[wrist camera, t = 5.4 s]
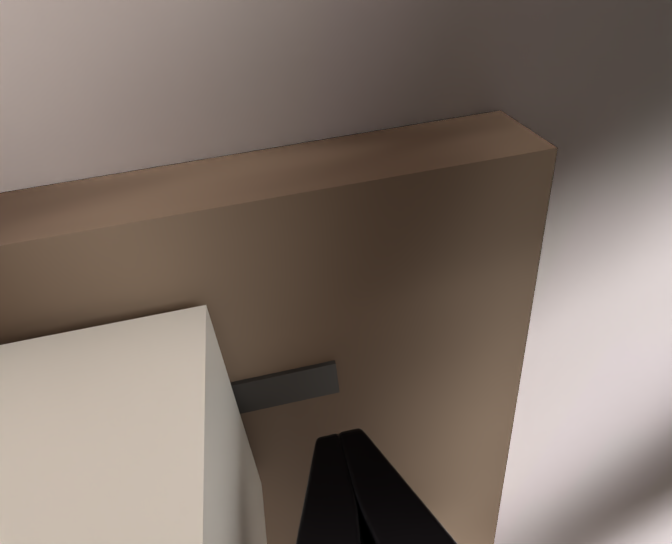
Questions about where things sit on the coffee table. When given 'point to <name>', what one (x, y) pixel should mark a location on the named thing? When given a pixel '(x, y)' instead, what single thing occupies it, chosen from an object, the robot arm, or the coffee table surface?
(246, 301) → the fader panel
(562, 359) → the coffee table surface
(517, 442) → the coffee table surface
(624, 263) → the coffee table surface
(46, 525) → the block
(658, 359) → the coffee table surface
